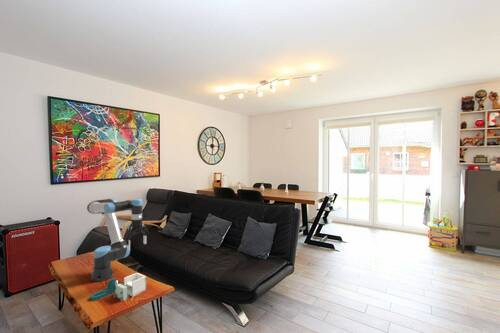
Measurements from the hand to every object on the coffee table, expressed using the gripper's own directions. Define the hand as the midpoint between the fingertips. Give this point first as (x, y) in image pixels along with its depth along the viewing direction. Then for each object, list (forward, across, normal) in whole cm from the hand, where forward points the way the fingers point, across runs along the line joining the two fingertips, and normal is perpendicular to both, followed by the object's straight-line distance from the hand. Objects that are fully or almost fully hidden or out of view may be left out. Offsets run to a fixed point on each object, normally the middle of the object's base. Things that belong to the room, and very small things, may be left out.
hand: (136, 246), depth 189 cm
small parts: (+27, -20, -12) cm, 36 cm away
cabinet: (+27, -10, -14) cm, 32 cm away
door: (+27, -20, -14) cm, 36 cm away
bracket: (+27, -24, 0) cm, 36 cm away
